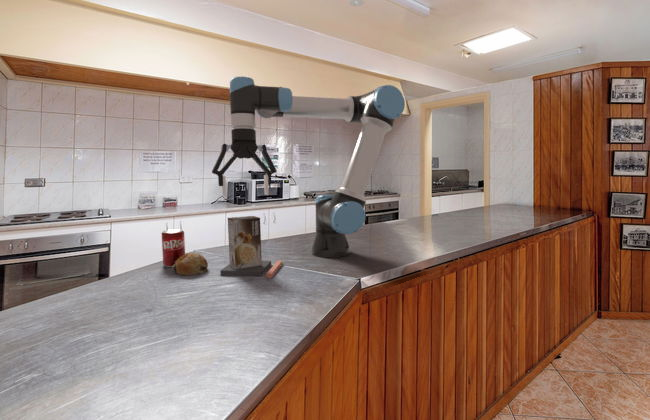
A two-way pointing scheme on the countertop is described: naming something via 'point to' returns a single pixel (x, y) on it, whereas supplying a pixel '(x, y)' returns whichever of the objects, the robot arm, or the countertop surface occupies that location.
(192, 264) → the bread roll
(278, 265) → the pink bar
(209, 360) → the countertop surface
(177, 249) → the soda can
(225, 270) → the mat
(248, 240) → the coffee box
